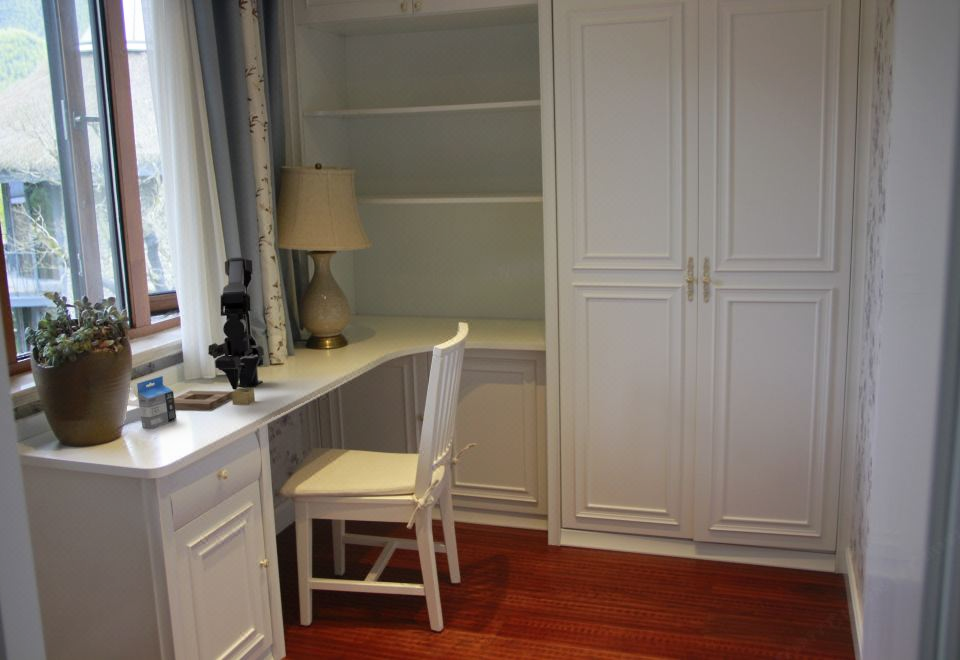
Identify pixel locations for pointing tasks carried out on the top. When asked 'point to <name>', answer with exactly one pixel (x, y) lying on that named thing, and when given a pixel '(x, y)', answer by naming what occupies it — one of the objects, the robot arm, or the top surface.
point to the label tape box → (156, 403)
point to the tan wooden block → (243, 396)
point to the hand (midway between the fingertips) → (242, 385)
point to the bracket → (132, 408)
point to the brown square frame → (201, 400)
